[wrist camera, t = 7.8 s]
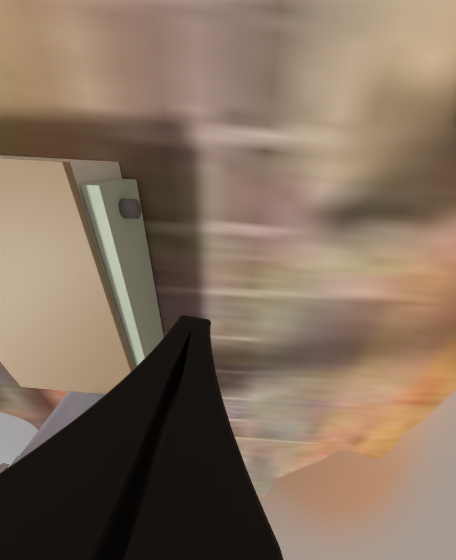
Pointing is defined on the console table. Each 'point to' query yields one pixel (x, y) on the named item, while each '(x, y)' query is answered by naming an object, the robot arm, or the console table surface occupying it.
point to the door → (126, 260)
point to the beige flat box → (56, 279)
